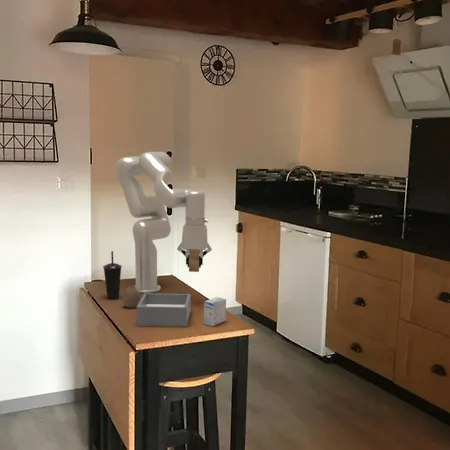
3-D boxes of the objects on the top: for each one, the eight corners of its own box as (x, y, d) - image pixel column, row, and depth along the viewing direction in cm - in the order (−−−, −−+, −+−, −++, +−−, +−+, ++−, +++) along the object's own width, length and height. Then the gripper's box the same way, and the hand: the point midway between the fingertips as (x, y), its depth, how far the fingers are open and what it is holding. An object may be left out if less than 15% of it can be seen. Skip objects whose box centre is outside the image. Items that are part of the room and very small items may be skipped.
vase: (141, 304, 230) (141, 283, 228) (139, 309, 223) (139, 287, 221) (124, 304, 229) (123, 283, 228) (121, 309, 223) (121, 287, 221)
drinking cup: (106, 295, 242) (105, 249, 239) (123, 295, 242) (123, 249, 239) (101, 300, 234) (100, 253, 231) (120, 300, 234) (119, 253, 231)
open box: (144, 310, 221) (144, 293, 220) (190, 311, 221) (190, 294, 220) (136, 325, 203) (136, 306, 202) (186, 326, 203) (186, 307, 202)
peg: (189, 269, 230) (189, 245, 228) (199, 269, 230) (199, 245, 228) (188, 271, 226) (189, 247, 224) (198, 271, 226) (199, 247, 224)
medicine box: (216, 318, 212) (216, 296, 211) (226, 321, 210) (226, 298, 208) (203, 324, 206) (203, 301, 205) (213, 326, 203) (213, 303, 202)
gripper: (216, 220, 228) (215, 265, 231) (174, 219, 228) (174, 263, 231) (215, 223, 221) (214, 269, 224) (172, 222, 221) (172, 268, 224)
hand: (194, 266), depth 228 cm, fingers closed on peg, 4 cm apart
